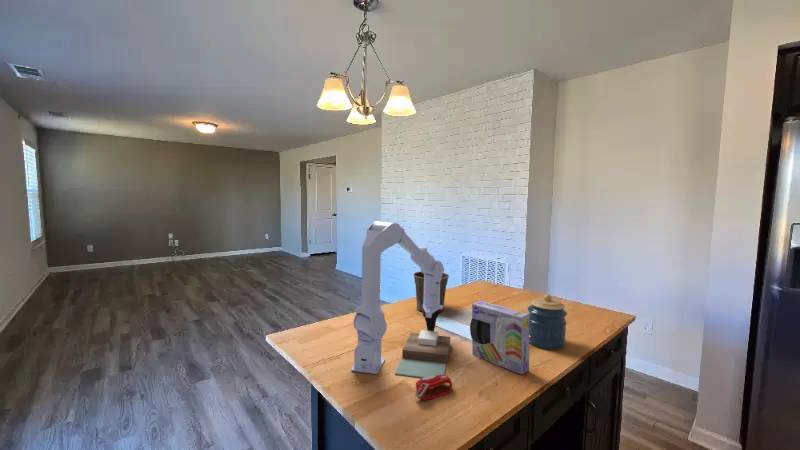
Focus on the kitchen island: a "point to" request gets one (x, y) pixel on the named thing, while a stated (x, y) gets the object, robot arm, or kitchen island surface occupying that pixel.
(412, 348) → the board
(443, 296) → the plant pot
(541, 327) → the canister
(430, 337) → the tile
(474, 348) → the cake pan box
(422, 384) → the tracker holder
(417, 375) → the mat
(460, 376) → the kitchen island surface
